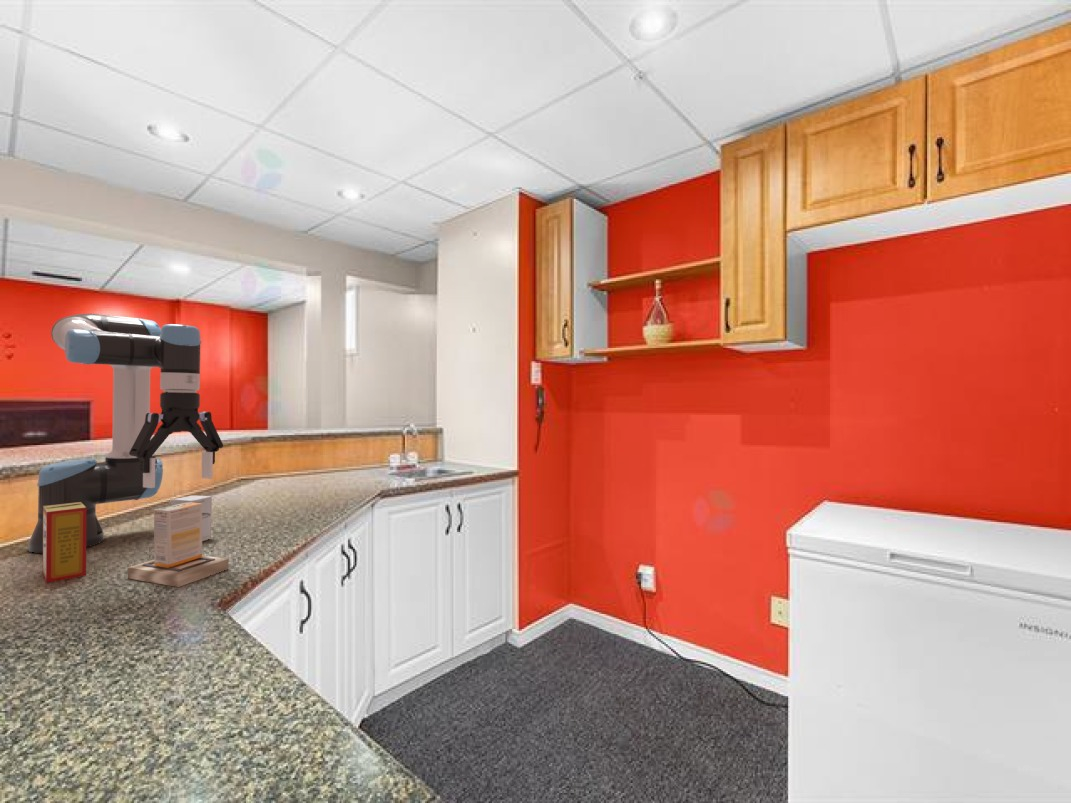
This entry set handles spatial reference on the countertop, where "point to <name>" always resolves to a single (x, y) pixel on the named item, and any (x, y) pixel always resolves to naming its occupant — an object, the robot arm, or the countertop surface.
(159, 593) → the countertop surface
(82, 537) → the baking soda box
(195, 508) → the supplement box
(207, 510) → the supplement box
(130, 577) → the seat pad
